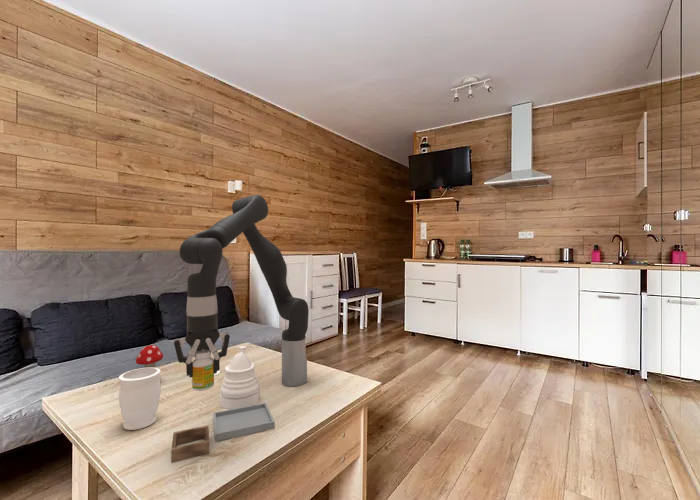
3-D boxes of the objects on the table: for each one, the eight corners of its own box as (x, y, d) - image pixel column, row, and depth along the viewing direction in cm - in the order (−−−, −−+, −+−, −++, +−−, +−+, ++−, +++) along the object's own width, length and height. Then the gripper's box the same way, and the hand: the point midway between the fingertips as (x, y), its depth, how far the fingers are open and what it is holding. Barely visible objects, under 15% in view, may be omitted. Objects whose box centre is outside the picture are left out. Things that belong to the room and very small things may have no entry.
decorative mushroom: (152, 390, 121) (152, 349, 121) (129, 389, 122) (129, 349, 122) (168, 379, 131) (168, 342, 131) (147, 379, 132) (147, 341, 132)
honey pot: (229, 392, 120) (229, 343, 120) (264, 392, 120) (264, 343, 120) (213, 409, 108) (213, 354, 108) (252, 410, 107) (252, 355, 107)
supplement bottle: (205, 392, 86) (205, 355, 86) (187, 390, 87) (187, 354, 87) (218, 383, 91) (217, 348, 91) (200, 382, 92) (200, 347, 92)
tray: (266, 408, 108) (266, 402, 108) (274, 428, 96) (274, 421, 96) (213, 419, 101) (213, 412, 101) (215, 441, 90) (215, 434, 90)
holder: (208, 435, 92) (208, 425, 92) (209, 453, 85) (209, 441, 85) (173, 443, 89) (173, 432, 89) (171, 462, 81) (171, 450, 81)
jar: (129, 436, 92) (129, 383, 92) (112, 425, 97) (112, 375, 97) (167, 420, 101) (167, 371, 101) (149, 411, 106) (149, 364, 106)
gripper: (229, 307, 95) (230, 365, 95) (172, 312, 89) (173, 374, 89) (231, 312, 88) (232, 374, 89) (171, 317, 82) (172, 384, 83)
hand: (203, 374), depth 89 cm, fingers closed on supplement bottle, 5 cm apart
